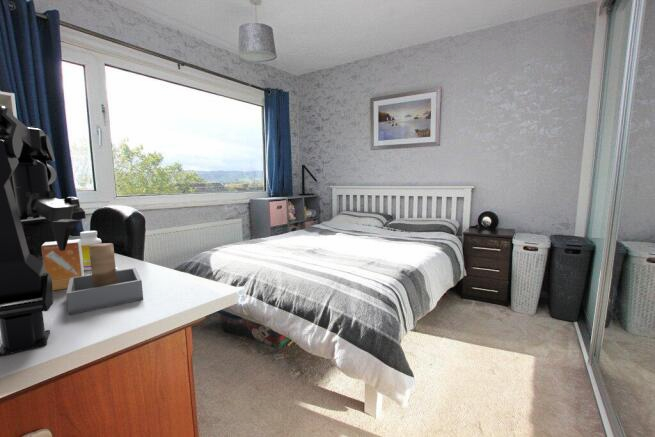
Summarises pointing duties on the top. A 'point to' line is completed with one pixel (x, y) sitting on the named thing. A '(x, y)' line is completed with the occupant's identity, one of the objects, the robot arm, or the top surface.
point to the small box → (63, 262)
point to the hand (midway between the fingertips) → (41, 255)
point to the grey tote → (103, 292)
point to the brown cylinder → (103, 264)
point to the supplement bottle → (86, 241)
